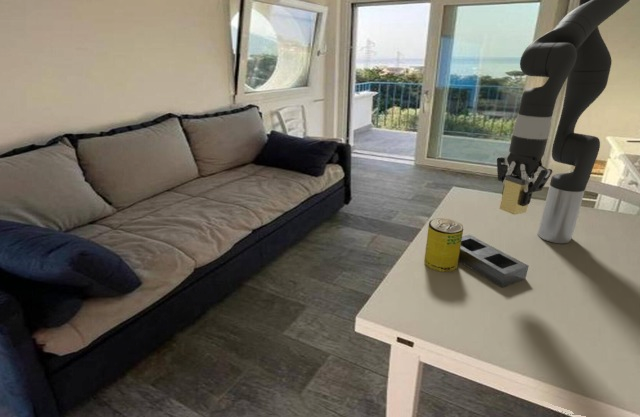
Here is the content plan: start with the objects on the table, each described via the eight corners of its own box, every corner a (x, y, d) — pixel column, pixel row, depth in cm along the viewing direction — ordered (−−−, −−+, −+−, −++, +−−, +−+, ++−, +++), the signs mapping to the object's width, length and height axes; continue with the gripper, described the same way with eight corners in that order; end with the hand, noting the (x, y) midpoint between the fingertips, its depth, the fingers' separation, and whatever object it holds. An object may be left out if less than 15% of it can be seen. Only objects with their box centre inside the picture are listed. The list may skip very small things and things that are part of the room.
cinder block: (467, 246, 116) (469, 234, 115) (525, 278, 100) (528, 265, 98) (445, 252, 113) (446, 240, 111) (501, 287, 96) (504, 274, 94)
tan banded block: (511, 206, 99) (518, 173, 96) (526, 212, 96) (535, 178, 92) (498, 208, 97) (506, 175, 94) (514, 215, 94) (522, 180, 90)
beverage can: (460, 260, 108) (466, 222, 104) (453, 275, 101) (459, 235, 97) (429, 252, 113) (433, 215, 108) (420, 266, 106) (424, 227, 101)
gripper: (569, 139, 85) (550, 209, 91) (514, 128, 97) (501, 191, 103) (548, 141, 82) (530, 214, 88) (494, 130, 94) (481, 195, 100)
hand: (514, 201), depth 96 cm, fingers closed on tan banded block, 4 cm apart
